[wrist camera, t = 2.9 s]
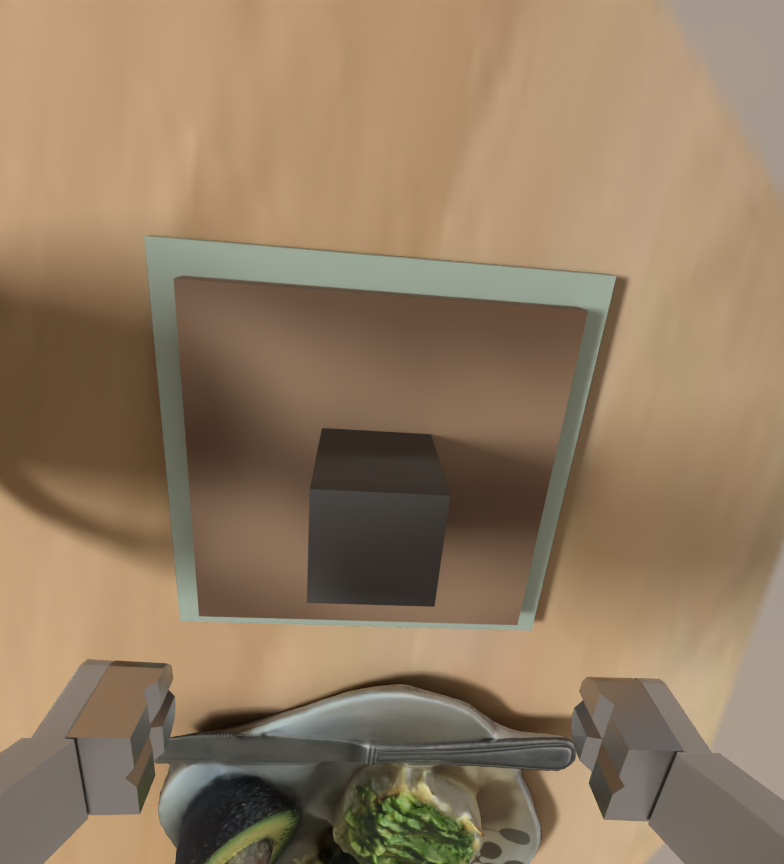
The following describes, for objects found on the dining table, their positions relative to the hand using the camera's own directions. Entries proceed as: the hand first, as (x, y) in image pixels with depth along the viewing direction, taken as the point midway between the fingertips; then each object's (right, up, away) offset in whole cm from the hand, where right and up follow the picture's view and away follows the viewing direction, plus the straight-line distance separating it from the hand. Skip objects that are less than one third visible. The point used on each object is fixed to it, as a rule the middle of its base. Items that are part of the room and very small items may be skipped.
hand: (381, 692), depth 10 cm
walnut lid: (0, +4, +8) cm, 9 cm away
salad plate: (-2, -13, +16) cm, 21 cm away
